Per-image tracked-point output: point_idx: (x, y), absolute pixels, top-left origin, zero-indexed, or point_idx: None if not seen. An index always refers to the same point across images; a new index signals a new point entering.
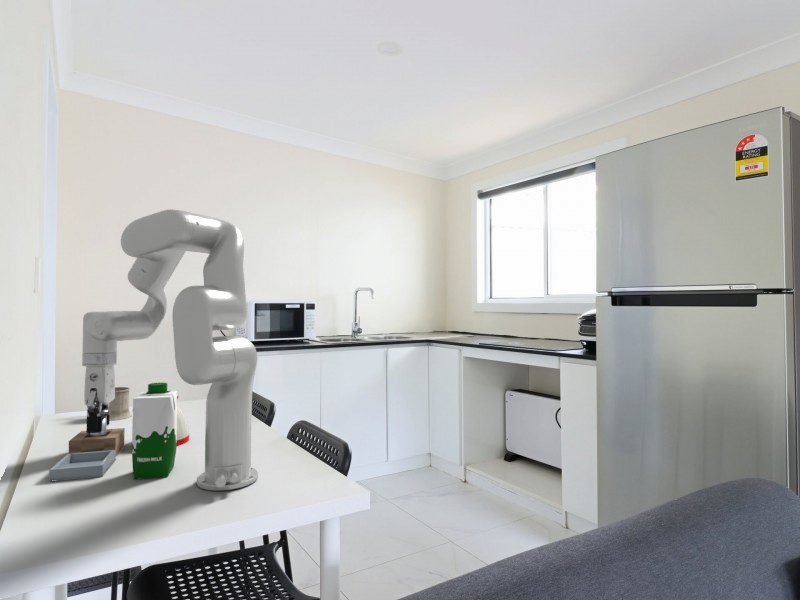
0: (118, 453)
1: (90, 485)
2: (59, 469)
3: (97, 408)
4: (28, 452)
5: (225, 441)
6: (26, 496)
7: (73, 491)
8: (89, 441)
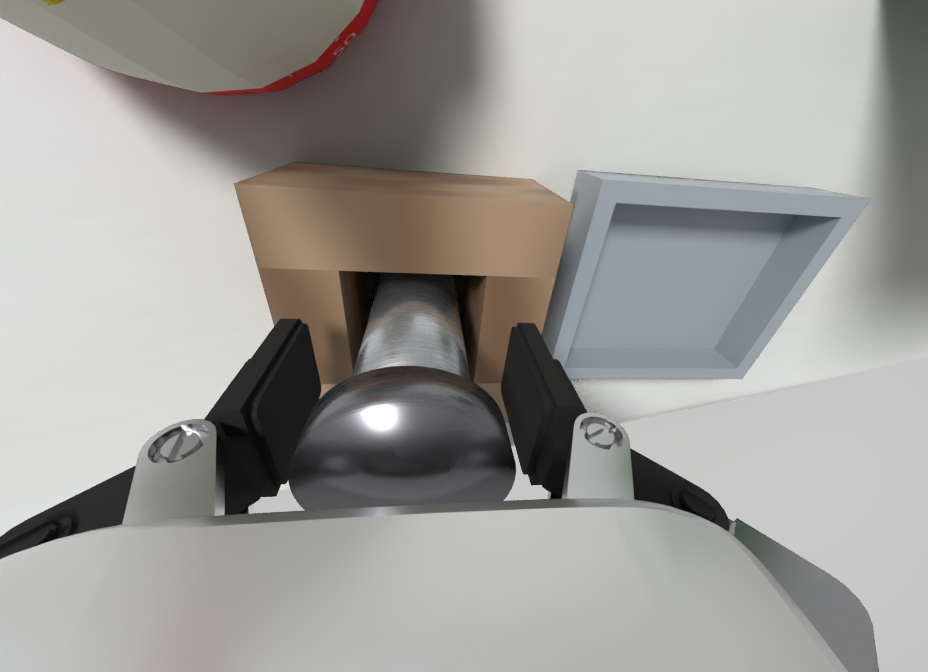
0: (453, 174)
1: (884, 215)
2: (758, 352)
3: (251, 510)
4: None
5: None
6: (804, 368)
7: (892, 259)
8: None
